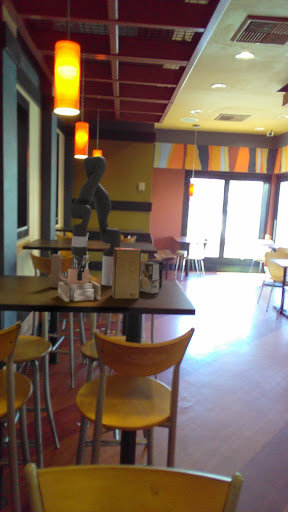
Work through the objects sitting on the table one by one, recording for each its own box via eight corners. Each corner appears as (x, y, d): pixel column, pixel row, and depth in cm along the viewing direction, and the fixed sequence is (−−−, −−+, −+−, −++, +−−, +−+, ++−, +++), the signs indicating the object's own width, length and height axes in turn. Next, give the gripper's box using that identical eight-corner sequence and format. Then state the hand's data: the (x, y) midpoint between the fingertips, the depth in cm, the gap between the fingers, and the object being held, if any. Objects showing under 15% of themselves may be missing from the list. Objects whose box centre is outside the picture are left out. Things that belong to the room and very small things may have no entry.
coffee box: (159, 292, 218) (161, 263, 216) (151, 293, 213) (153, 264, 212) (147, 289, 224) (148, 261, 222) (139, 290, 220) (140, 262, 218)
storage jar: (162, 287, 231) (163, 262, 230) (145, 286, 231) (146, 261, 230) (161, 284, 241) (163, 260, 239) (145, 283, 241) (147, 259, 240)
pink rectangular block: (86, 295, 201) (87, 268, 200) (88, 296, 199) (89, 269, 197) (67, 296, 197) (68, 268, 195) (69, 297, 194) (69, 269, 192)
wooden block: (68, 287, 219) (69, 255, 217) (66, 288, 215) (67, 256, 212) (53, 285, 220) (54, 254, 218) (50, 287, 216) (51, 254, 214)
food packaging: (135, 294, 209) (138, 248, 206) (139, 299, 200) (142, 250, 197) (110, 294, 206) (113, 247, 203) (113, 299, 197) (115, 249, 194)
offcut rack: (90, 293, 206) (91, 280, 205) (100, 299, 194) (101, 285, 194) (57, 295, 197) (58, 281, 197) (66, 301, 186) (66, 287, 185)
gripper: (91, 247, 190) (90, 282, 192) (81, 243, 202) (80, 277, 205) (76, 247, 187) (75, 282, 189) (67, 243, 199) (66, 277, 201)
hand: (78, 279), depth 197 cm, fingers closed on pink rectangular block, 3 cm apart
